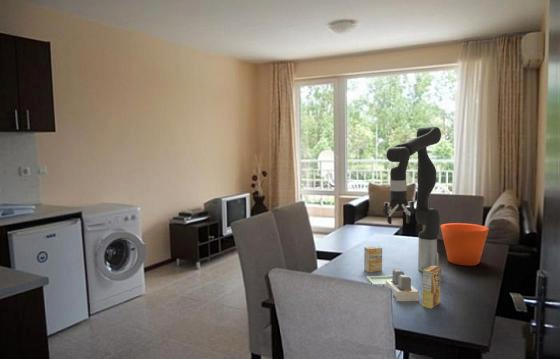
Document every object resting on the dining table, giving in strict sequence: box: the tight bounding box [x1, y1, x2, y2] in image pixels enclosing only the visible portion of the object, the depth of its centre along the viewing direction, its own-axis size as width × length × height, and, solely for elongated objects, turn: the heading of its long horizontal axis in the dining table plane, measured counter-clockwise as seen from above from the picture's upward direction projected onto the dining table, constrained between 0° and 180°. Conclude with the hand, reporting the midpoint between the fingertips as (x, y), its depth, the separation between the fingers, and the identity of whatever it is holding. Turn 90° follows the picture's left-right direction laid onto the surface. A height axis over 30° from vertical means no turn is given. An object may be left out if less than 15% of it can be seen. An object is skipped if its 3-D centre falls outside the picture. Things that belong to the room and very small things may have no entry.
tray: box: [366, 274, 393, 287], centre depth 196 cm, size 14×12×2 cm
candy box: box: [421, 265, 442, 309], centre depth 168 cm, size 9×4×15 cm, turn 137°
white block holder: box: [385, 274, 419, 302], centre depth 181 cm, size 16×9×10 cm, turn 3°
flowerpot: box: [439, 222, 490, 266], centre depth 232 cm, size 25×25×20 cm
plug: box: [392, 268, 405, 285], centre depth 185 cm, size 4×4×9 cm
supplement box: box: [363, 246, 383, 273], centre depth 214 cm, size 8×5×13 cm, turn 105°
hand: (398, 223), depth 194 cm, fingers open, 8 cm apart
